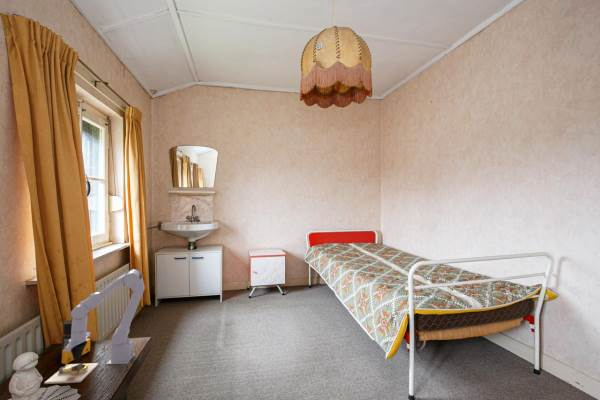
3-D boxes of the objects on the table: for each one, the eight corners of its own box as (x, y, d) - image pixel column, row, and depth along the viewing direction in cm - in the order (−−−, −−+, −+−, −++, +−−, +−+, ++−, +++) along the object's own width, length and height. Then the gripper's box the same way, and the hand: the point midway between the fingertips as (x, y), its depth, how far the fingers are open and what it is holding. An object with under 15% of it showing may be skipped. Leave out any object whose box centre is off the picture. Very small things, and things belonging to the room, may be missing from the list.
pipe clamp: (82, 350, 141) (83, 337, 141) (89, 351, 140) (90, 338, 140) (58, 363, 129) (59, 349, 129) (66, 364, 128) (66, 350, 128)
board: (98, 364, 128) (99, 356, 129) (80, 382, 116) (81, 373, 116) (66, 366, 126) (67, 357, 127) (44, 383, 114) (45, 374, 114)
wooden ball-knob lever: (90, 366, 125) (90, 363, 125) (82, 374, 119) (82, 370, 119) (64, 367, 123) (64, 364, 123) (54, 375, 117) (54, 371, 117)
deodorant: (60, 354, 136) (62, 324, 136) (63, 349, 141) (65, 320, 141) (75, 351, 139) (76, 322, 139) (77, 346, 144) (79, 318, 144)
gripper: (80, 323, 133) (78, 351, 133) (58, 337, 119) (56, 368, 119) (95, 323, 134) (93, 350, 134) (75, 337, 120) (73, 367, 119)
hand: (77, 359), depth 126 cm, fingers closed
